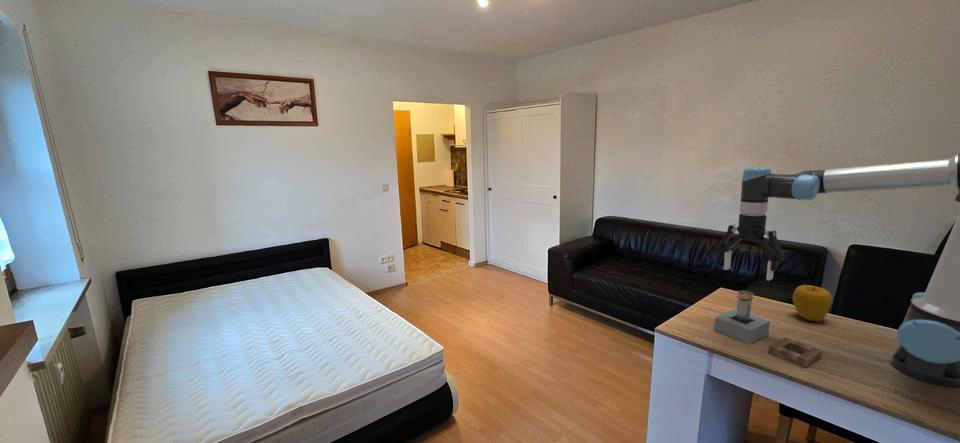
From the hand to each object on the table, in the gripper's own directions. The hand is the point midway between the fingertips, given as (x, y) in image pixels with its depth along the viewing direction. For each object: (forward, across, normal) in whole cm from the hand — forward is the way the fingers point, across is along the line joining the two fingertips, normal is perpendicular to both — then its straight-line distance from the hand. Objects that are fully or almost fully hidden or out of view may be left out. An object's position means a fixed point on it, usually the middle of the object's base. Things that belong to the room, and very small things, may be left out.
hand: (747, 274), depth 133 cm
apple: (+22, -8, -31) cm, 39 cm away
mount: (+22, -17, +2) cm, 28 cm away
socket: (+22, 0, 0) cm, 22 cm away
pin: (+22, 0, 0) cm, 22 cm away
